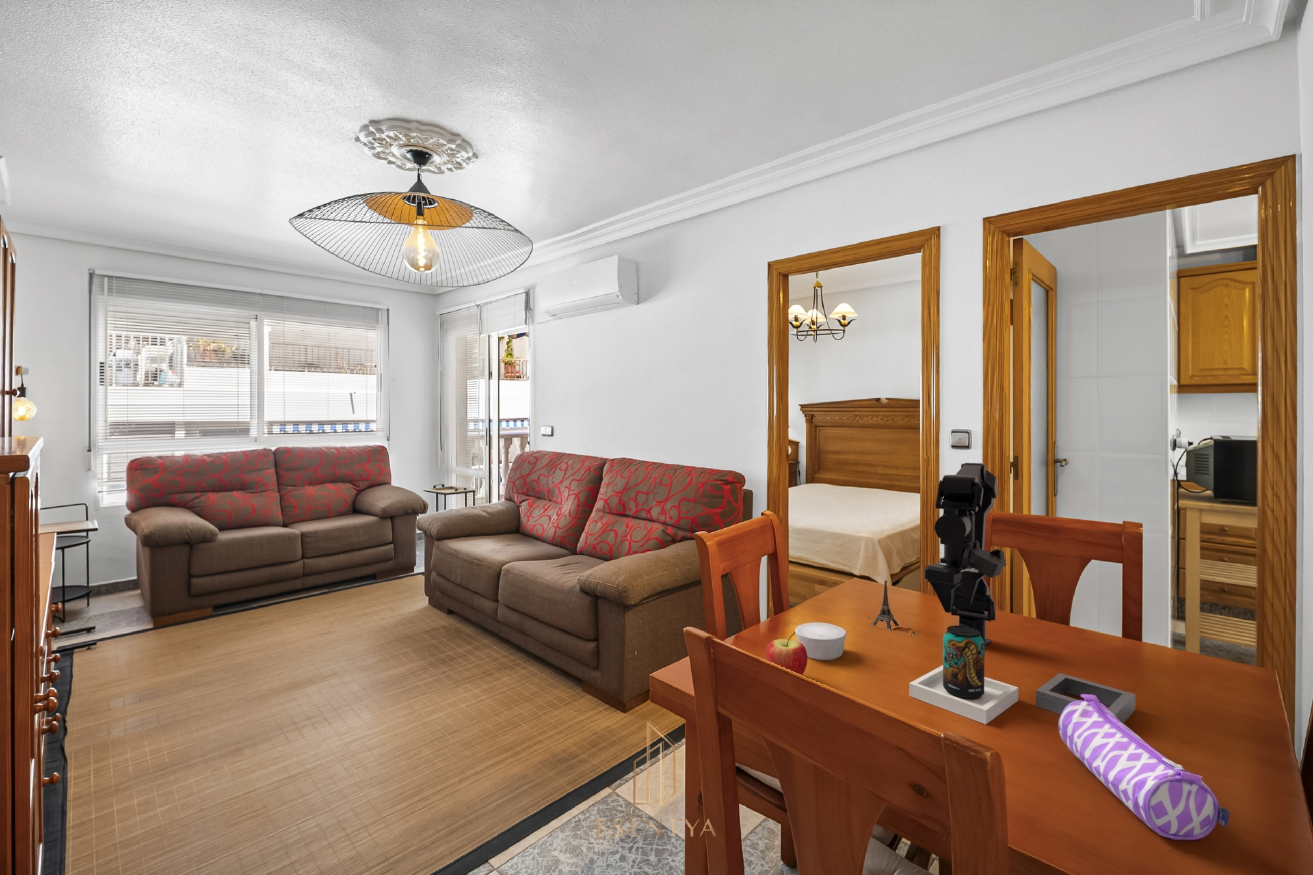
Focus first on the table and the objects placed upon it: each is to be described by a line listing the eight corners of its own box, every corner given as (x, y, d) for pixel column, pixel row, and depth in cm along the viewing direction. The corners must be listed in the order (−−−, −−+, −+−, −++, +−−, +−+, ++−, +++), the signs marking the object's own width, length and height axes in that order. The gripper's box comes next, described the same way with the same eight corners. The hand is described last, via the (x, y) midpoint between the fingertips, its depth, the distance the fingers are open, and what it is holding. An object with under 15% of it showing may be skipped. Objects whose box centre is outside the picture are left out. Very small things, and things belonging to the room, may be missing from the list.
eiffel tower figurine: (918, 638, 148) (918, 584, 147) (876, 638, 148) (876, 584, 148) (897, 618, 163) (898, 569, 162) (859, 618, 163) (859, 568, 163)
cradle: (944, 676, 125) (944, 664, 125) (1018, 700, 114) (1018, 687, 114) (909, 695, 116) (909, 683, 116) (985, 724, 105) (985, 710, 105)
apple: (799, 691, 119) (799, 640, 118) (759, 681, 123) (759, 633, 123) (813, 676, 126) (813, 628, 125) (774, 667, 130) (774, 621, 130)
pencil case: (1231, 851, 75) (1233, 775, 74) (1152, 848, 75) (1154, 773, 75) (1109, 752, 97) (1110, 694, 96) (1048, 750, 97) (1049, 692, 97)
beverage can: (956, 701, 112) (956, 637, 111) (935, 685, 118) (935, 624, 118) (992, 700, 112) (993, 636, 112) (969, 683, 119) (970, 623, 119)
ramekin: (791, 658, 135) (791, 635, 135) (799, 641, 145) (799, 619, 145) (844, 665, 131) (844, 641, 131) (848, 647, 141) (848, 625, 141)
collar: (1059, 687, 119) (1059, 672, 119) (1135, 710, 110) (1135, 694, 110) (1035, 706, 112) (1036, 690, 112) (1115, 732, 102) (1115, 714, 102)
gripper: (979, 547, 116) (978, 627, 116) (1018, 535, 127) (1017, 608, 128) (922, 538, 124) (922, 613, 125) (964, 527, 136) (963, 596, 137)
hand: (958, 608), depth 128 cm, fingers open, 9 cm apart
